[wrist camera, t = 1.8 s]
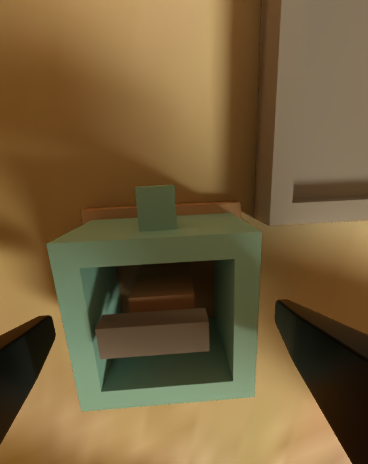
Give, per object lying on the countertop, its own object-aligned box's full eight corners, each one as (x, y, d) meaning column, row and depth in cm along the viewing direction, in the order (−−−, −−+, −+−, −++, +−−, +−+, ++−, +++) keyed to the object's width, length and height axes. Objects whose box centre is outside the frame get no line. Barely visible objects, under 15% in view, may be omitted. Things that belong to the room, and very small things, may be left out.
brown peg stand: (234, 327, 14) (271, 418, 8) (106, 336, 13) (64, 436, 8) (236, 200, 12) (285, 219, 7) (86, 208, 11) (15, 233, 6)
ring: (229, 330, 13) (254, 397, 9) (110, 338, 12) (81, 411, 9) (231, 180, 11) (264, 182, 7) (87, 187, 10) (35, 192, 6)
